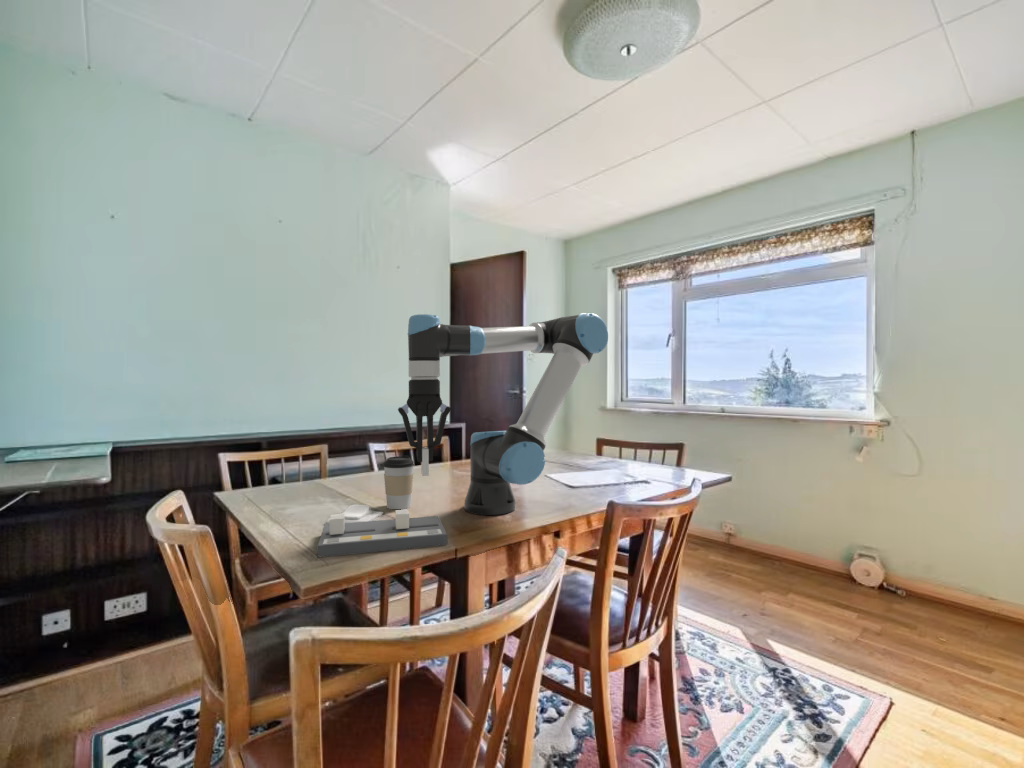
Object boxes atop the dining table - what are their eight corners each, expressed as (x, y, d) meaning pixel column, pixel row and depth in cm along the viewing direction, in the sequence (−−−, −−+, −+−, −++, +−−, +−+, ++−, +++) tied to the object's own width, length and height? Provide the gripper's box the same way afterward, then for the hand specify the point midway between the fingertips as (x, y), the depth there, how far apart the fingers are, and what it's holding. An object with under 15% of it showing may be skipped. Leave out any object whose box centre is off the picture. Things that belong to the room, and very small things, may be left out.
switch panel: (438, 525, 125) (438, 515, 125) (446, 544, 110) (446, 533, 110) (324, 534, 117) (324, 523, 117) (317, 557, 102) (317, 544, 102)
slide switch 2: (407, 523, 117) (407, 509, 117) (409, 528, 113) (409, 513, 113) (395, 524, 116) (395, 510, 116) (396, 529, 112) (396, 514, 112)
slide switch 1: (344, 528, 113) (344, 513, 113) (343, 533, 109) (343, 518, 109) (331, 529, 112) (331, 514, 112) (329, 534, 108) (329, 519, 108)
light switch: (384, 503, 136) (364, 513, 123) (383, 517, 136) (364, 529, 123) (348, 501, 137) (325, 511, 125) (348, 515, 137) (324, 527, 124)
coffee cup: (398, 512, 136) (398, 460, 136) (376, 507, 141) (376, 457, 141) (420, 505, 144) (420, 456, 144) (398, 501, 149) (398, 453, 148)
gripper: (448, 378, 121) (449, 470, 122) (396, 378, 117) (397, 473, 118) (453, 378, 114) (454, 476, 114) (397, 379, 110) (398, 479, 111)
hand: (425, 474), depth 116 cm, fingers closed
